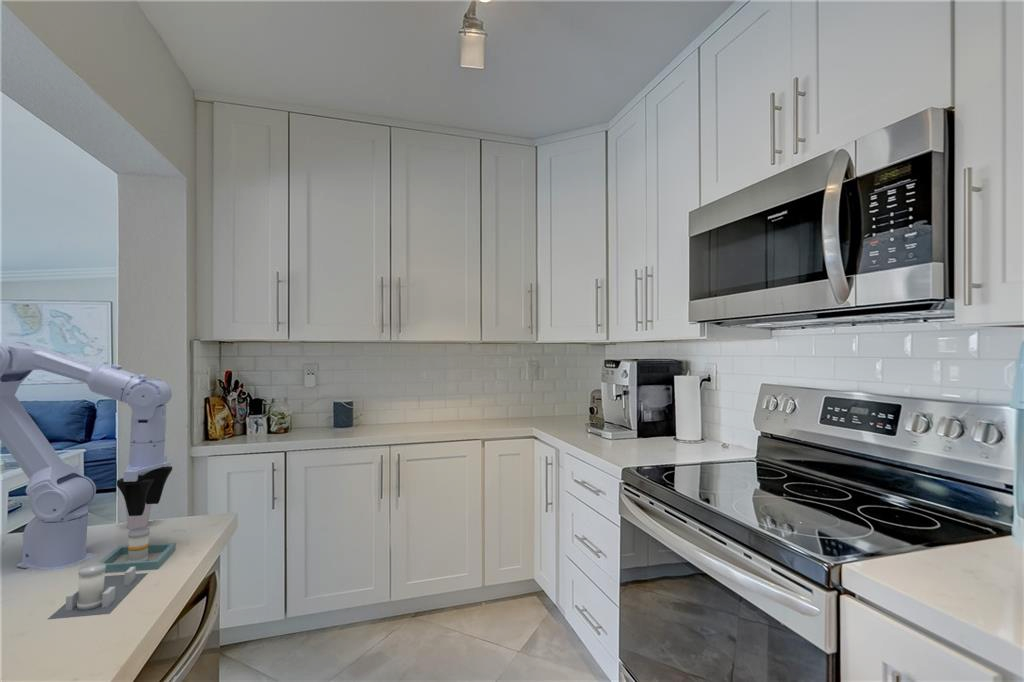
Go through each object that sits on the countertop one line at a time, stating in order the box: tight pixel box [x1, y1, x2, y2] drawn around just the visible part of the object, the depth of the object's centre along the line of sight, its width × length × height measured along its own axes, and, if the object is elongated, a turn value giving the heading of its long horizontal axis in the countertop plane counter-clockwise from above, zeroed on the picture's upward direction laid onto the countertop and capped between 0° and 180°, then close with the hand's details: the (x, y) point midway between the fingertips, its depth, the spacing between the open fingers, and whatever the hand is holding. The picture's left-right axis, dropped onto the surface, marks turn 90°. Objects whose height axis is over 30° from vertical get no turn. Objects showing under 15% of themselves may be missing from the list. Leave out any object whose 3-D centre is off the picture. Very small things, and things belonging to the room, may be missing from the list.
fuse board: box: [47, 567, 149, 620], centre depth 86 cm, size 15×8×3 cm, turn 16°
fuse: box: [77, 562, 106, 610], centre depth 83 cm, size 3×3×6 cm
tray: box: [98, 542, 177, 574], centre depth 100 cm, size 10×10×2 cm
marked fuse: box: [126, 526, 151, 562], centre depth 100 cm, size 3×3×6 cm
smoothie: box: [124, 502, 152, 530], centre depth 120 cm, size 6×6×14 cm
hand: (144, 509), depth 103 cm, fingers open, 7 cm apart
